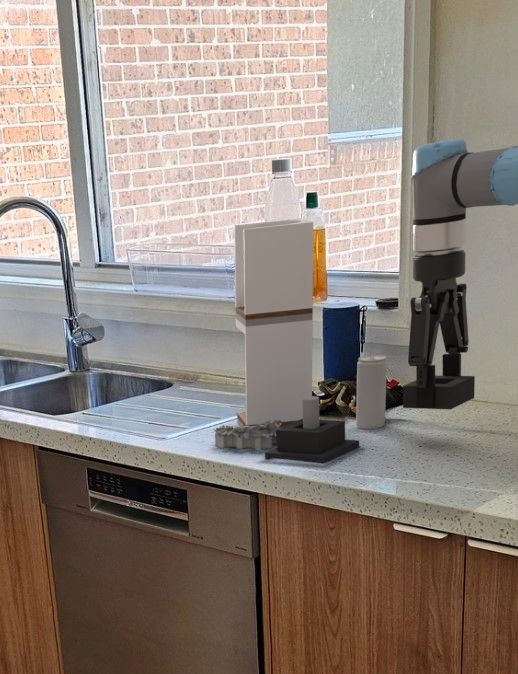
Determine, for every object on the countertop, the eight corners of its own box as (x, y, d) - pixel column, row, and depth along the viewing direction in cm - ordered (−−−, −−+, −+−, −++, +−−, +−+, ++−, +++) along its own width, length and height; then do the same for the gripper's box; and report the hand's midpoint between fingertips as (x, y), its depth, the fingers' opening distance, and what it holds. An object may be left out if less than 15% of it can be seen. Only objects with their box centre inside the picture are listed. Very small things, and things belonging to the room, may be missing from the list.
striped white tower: (299, 418, 226) (299, 218, 212) (311, 430, 217) (313, 222, 202) (237, 423, 227) (234, 225, 213) (247, 436, 217) (244, 229, 203)
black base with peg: (359, 449, 201) (358, 391, 197) (324, 466, 194) (322, 407, 190) (300, 445, 208) (299, 389, 204) (264, 461, 201) (262, 404, 198)
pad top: (474, 398, 193) (474, 375, 192) (451, 409, 189) (451, 386, 187) (426, 396, 199) (426, 375, 198) (402, 408, 194) (402, 385, 193)
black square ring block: (345, 441, 200) (345, 420, 199) (319, 454, 195) (319, 432, 194) (302, 439, 206) (302, 418, 204) (276, 450, 201) (275, 430, 199)
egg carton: (285, 443, 211) (285, 419, 210) (265, 453, 206) (265, 429, 204) (229, 439, 218) (229, 416, 216) (209, 449, 212) (208, 426, 211)
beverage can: (356, 431, 211) (358, 361, 206) (355, 425, 215) (356, 356, 210) (385, 430, 210) (387, 359, 205) (384, 423, 214) (386, 354, 209)
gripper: (447, 243, 194) (446, 386, 203) (381, 263, 181) (384, 415, 190) (493, 239, 189) (491, 387, 197) (429, 260, 176) (430, 416, 185)
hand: (438, 401), depth 194 cm, fingers closed on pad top, 8 cm apart
